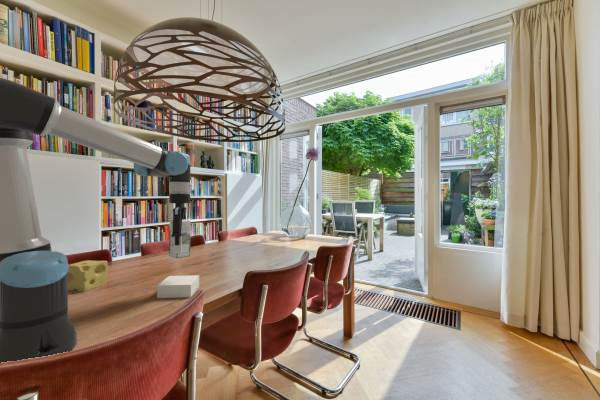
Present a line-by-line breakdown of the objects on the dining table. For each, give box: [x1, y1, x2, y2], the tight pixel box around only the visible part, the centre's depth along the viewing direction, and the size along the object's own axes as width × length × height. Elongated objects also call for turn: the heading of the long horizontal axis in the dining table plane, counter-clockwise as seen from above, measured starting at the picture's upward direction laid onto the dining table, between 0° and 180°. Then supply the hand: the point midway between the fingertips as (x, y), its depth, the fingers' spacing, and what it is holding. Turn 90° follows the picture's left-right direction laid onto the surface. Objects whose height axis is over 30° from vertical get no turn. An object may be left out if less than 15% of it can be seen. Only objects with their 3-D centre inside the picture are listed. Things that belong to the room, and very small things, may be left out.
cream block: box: [156, 274, 200, 299], centre depth 106 cm, size 12×12×5 cm
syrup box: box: [168, 218, 192, 259], centre depth 106 cm, size 6×6×14 cm
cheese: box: [68, 259, 109, 293], centre depth 110 cm, size 10×11×10 cm
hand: (179, 251), depth 106 cm, fingers closed on syrup box, 8 cm apart
